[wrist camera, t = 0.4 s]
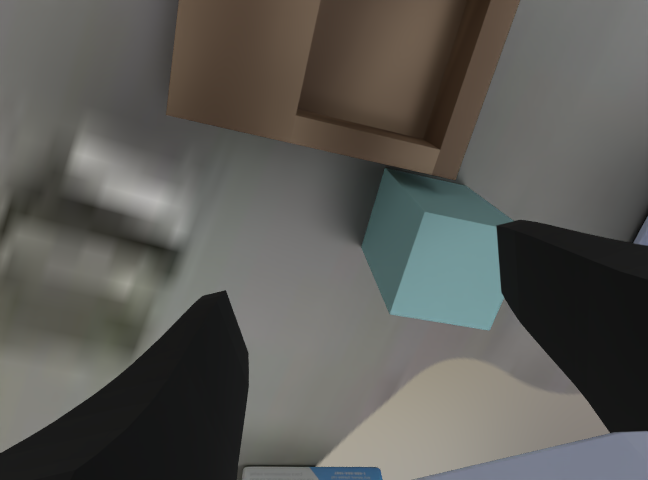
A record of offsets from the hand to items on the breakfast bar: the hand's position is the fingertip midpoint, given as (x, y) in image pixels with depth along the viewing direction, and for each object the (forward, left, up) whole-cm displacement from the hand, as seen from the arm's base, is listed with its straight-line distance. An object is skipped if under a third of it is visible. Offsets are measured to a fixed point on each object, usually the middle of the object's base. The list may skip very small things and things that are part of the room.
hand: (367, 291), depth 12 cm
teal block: (-4, +1, -10) cm, 10 cm away
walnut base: (+1, -6, -10) cm, 11 cm away
